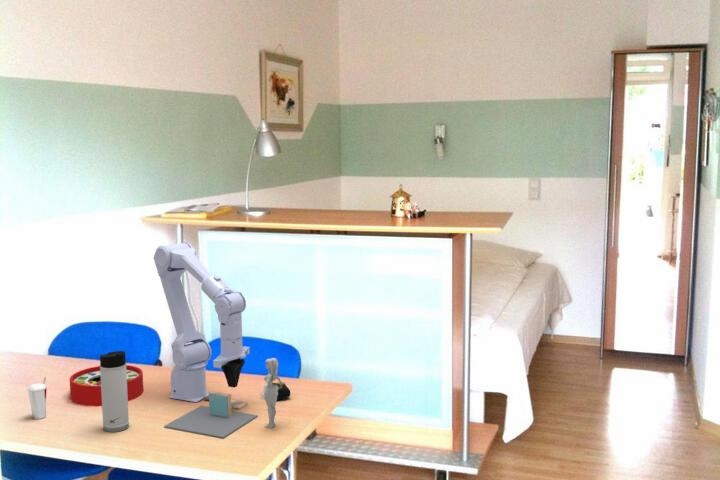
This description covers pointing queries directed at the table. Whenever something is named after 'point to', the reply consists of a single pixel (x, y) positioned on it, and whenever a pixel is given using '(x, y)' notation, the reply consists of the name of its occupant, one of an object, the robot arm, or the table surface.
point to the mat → (210, 422)
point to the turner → (233, 403)
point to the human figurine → (271, 389)
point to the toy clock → (89, 385)
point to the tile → (220, 404)
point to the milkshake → (38, 399)
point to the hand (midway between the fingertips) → (232, 386)
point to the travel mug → (114, 391)
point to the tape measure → (282, 391)
